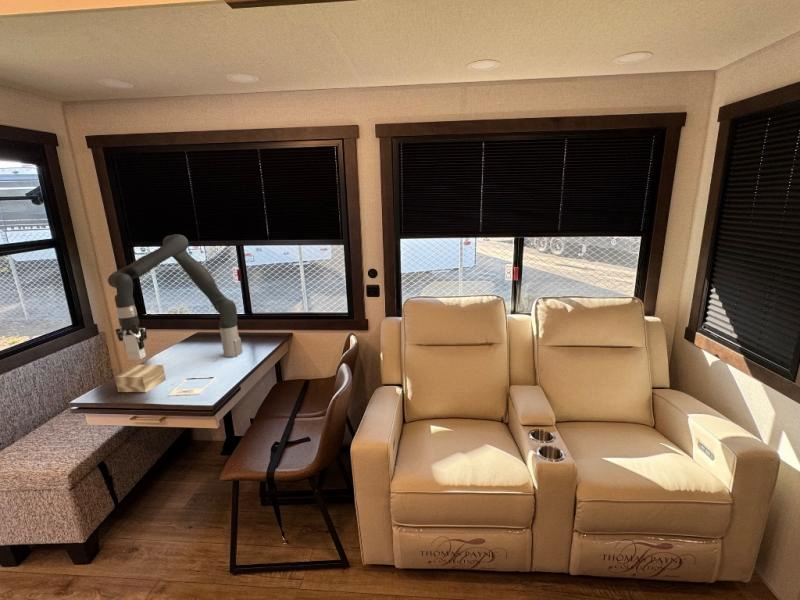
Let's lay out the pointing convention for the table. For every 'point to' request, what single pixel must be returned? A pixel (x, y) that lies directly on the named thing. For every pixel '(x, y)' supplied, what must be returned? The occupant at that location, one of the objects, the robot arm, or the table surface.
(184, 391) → the photo frame
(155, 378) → the birch block
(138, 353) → the skincare box
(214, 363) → the table surface
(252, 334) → the table surface
